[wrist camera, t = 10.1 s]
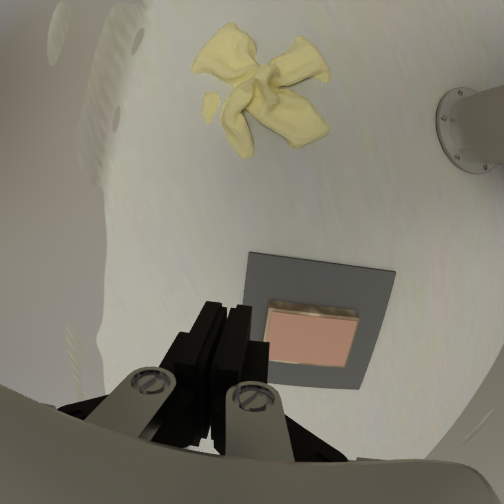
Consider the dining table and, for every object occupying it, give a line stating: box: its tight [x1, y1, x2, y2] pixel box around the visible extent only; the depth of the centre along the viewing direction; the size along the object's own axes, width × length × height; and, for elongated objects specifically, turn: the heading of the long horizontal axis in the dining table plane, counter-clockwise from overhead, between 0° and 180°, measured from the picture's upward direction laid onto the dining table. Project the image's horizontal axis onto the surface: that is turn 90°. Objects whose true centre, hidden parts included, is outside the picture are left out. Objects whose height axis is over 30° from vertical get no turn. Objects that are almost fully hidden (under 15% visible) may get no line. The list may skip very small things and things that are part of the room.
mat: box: [243, 252, 396, 390], centre depth 42 cm, size 20×20×1 cm
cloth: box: [191, 23, 331, 160], centre depth 32 cm, size 22×19×6 cm
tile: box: [263, 300, 360, 368], centre depth 40 cm, size 3×8×12 cm
